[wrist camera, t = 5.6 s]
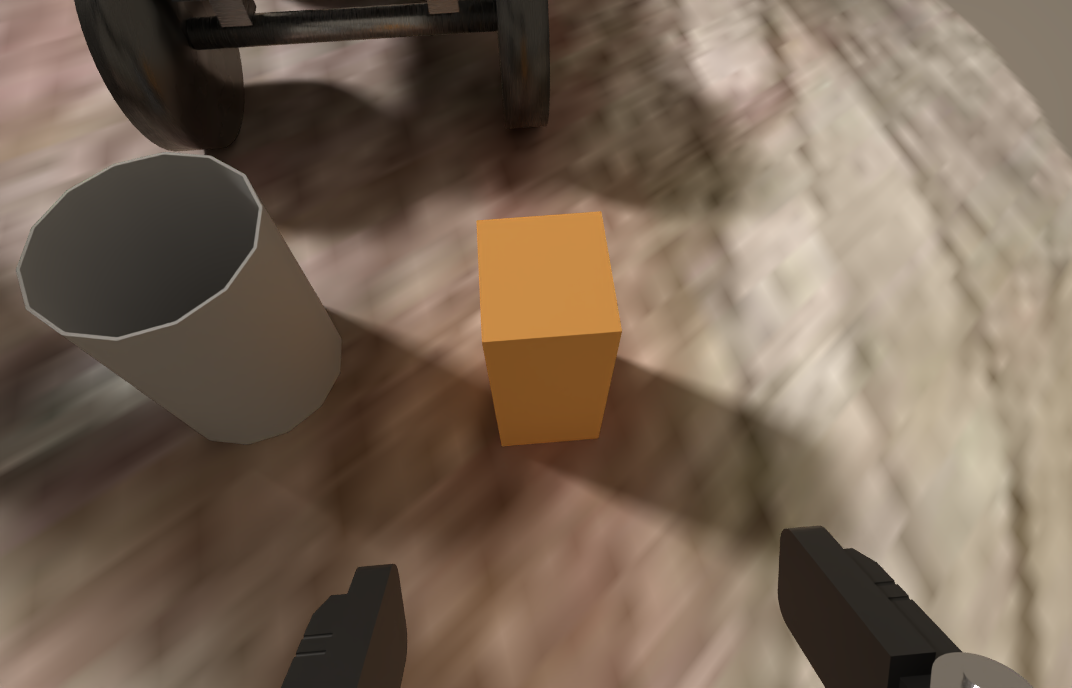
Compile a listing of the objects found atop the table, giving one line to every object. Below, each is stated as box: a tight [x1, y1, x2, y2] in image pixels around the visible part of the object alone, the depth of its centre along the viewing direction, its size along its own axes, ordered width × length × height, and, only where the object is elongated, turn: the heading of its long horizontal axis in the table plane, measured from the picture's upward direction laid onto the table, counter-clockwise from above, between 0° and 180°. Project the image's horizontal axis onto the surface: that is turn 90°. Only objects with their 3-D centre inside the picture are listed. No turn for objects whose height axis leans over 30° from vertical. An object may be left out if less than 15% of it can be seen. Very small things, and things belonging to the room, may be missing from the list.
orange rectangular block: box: [477, 212, 622, 446], centre depth 25 cm, size 5×4×10 cm
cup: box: [16, 152, 342, 445], centre depth 26 cm, size 8×8×10 cm
